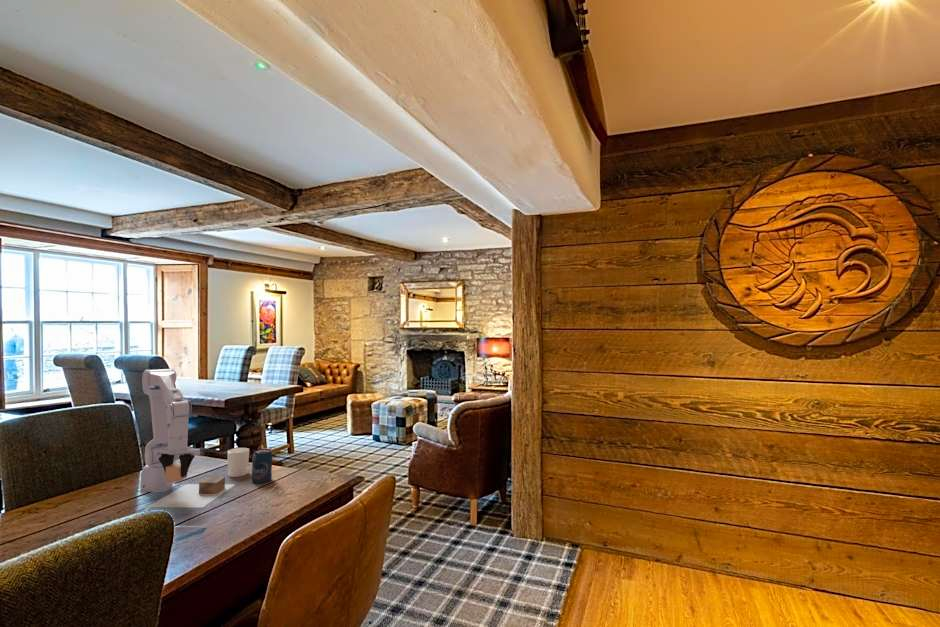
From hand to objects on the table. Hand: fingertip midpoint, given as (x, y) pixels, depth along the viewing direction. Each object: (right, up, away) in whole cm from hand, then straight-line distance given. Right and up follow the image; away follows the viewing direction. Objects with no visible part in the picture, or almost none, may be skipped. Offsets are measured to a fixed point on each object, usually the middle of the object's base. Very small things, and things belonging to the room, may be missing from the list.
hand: (176, 476), depth 154 cm
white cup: (+7, -10, +27) cm, 29 cm away
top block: (0, -1, 0) cm, 1 cm away
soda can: (+20, -10, +19) cm, 30 cm away
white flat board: (+4, -9, +4) cm, 10 cm away
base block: (+8, -8, +8) cm, 14 cm away
